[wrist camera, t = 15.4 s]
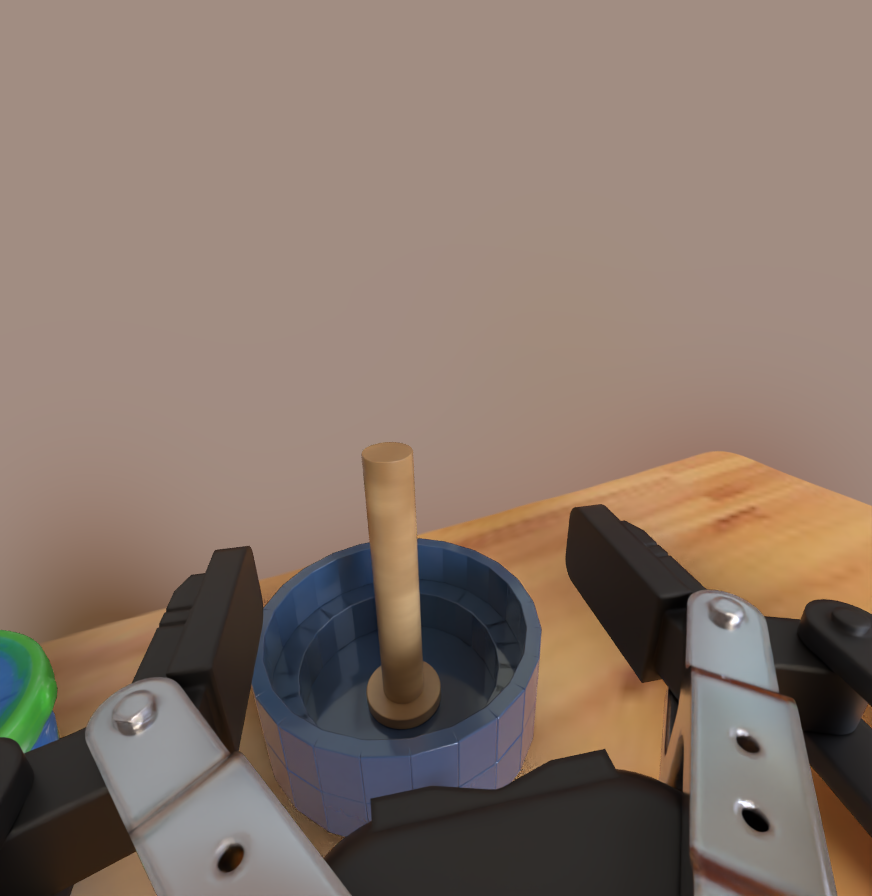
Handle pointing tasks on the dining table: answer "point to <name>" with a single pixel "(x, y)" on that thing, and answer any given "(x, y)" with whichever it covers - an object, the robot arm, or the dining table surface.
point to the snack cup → (26, 692)
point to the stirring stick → (396, 591)
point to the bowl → (358, 656)
